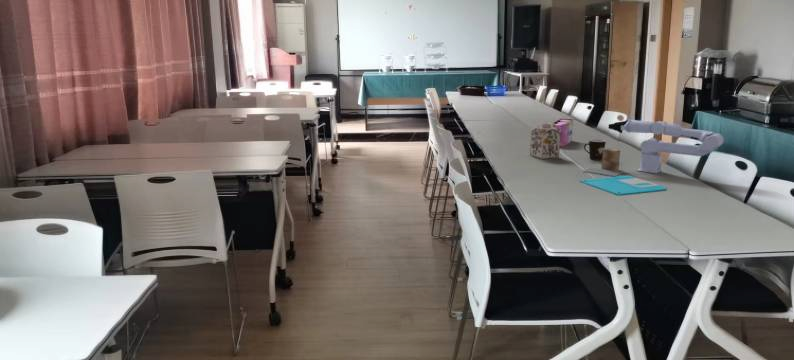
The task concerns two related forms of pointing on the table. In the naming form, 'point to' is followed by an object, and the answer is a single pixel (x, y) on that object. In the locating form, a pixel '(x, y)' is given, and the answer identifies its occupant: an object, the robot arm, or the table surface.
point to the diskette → (623, 185)
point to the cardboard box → (610, 159)
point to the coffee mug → (596, 148)
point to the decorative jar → (545, 142)
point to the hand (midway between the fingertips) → (611, 125)
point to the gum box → (564, 130)
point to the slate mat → (603, 172)
